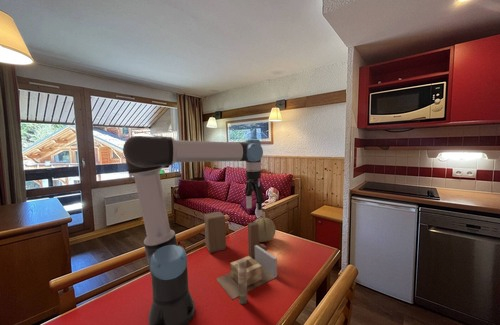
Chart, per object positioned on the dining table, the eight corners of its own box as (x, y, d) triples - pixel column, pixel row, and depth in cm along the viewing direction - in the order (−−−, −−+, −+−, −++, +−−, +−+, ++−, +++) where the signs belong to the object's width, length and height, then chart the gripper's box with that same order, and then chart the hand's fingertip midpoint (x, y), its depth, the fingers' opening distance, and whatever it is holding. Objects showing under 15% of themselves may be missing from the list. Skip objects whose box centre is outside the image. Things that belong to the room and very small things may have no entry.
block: (205, 246, 123) (203, 213, 121) (221, 242, 127) (220, 210, 125) (209, 253, 114) (207, 218, 112) (226, 249, 118) (225, 215, 116)
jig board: (232, 299, 80) (232, 299, 80) (215, 279, 92) (215, 278, 92) (278, 276, 93) (278, 275, 93) (258, 261, 106) (258, 260, 106)
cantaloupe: (264, 249, 117) (263, 223, 116) (247, 240, 128) (246, 217, 127) (280, 240, 127) (280, 217, 126) (263, 233, 138) (263, 211, 137)
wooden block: (263, 251, 115) (262, 220, 114) (267, 255, 111) (266, 223, 109) (248, 254, 112) (247, 222, 110) (251, 259, 108) (250, 225, 106)
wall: (274, 278, 92) (274, 259, 91) (254, 262, 104) (254, 245, 103) (276, 277, 93) (276, 258, 92) (257, 261, 105) (256, 244, 104)
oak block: (242, 288, 85) (242, 274, 84) (230, 276, 93) (230, 262, 92) (261, 279, 90) (261, 265, 90) (249, 268, 99) (248, 255, 98)
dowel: (241, 305, 77) (240, 264, 75) (237, 300, 80) (236, 260, 78) (248, 301, 79) (247, 261, 77) (244, 296, 81) (243, 258, 80)
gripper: (271, 173, 93) (271, 218, 95) (251, 167, 116) (251, 204, 118) (256, 174, 90) (256, 221, 92) (238, 168, 113) (239, 205, 115)
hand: (253, 211), depth 105 cm, fingers open, 13 cm apart
